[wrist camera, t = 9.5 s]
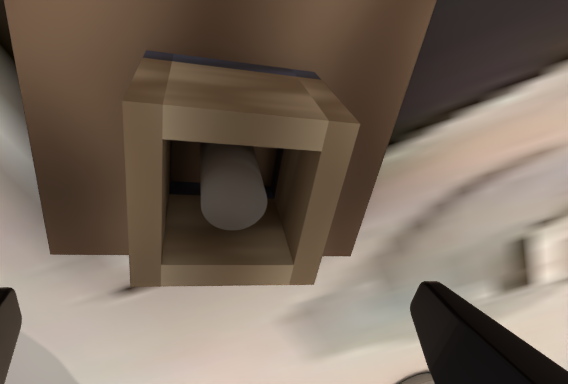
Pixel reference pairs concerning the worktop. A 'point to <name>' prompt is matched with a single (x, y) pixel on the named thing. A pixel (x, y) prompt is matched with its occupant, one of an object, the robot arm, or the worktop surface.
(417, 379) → the energy drink can
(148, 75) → the sleeve
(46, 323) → the worktop surface
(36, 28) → the pin board
